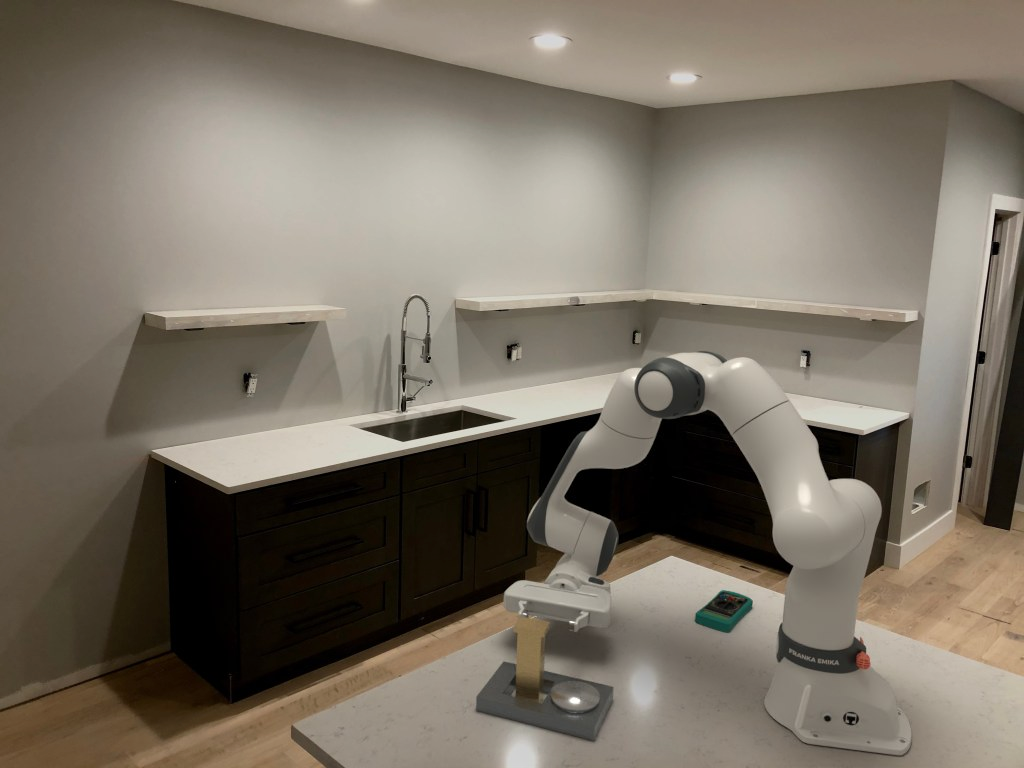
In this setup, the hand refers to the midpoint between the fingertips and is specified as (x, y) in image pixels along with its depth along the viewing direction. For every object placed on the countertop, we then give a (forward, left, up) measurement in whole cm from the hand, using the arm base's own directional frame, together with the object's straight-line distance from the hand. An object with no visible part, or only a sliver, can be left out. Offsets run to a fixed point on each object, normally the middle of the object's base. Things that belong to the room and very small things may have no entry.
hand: (547, 622), depth 142 cm
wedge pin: (-1, +11, -9) cm, 14 cm away
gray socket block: (-4, +11, -9) cm, 14 cm away
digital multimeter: (-27, -35, -10) cm, 46 cm away
